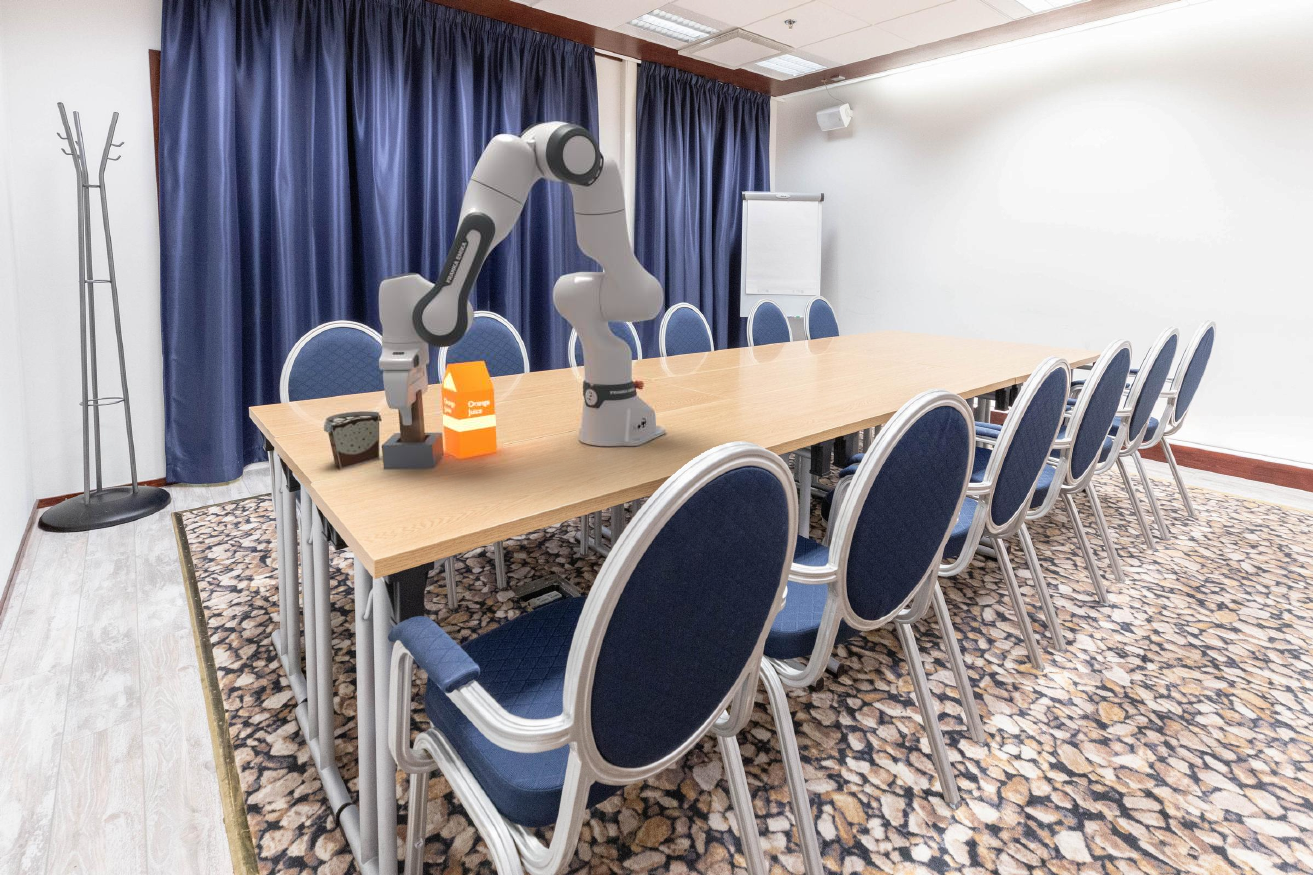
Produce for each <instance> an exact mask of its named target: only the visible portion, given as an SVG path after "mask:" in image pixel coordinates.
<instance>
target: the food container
mask: <svg viewBox="0 0 1313 875" xmlns="http://www.w3.org/2000/svg"><path fill="white" fill-rule="evenodd" d="M382 421H383V420H382V417H381V414H380V412H378V411H370V410H369V411H368V410H367V411H350V412H349V411H348V412H343V413H336V414H333V415H330V416H328V417H326V418H325V422H324V426H323V431H324V432H325V433H327V434H328V437H329V439H328V440H329V442H330V447H331V448H330V449H331V452H332V457H333V461H334V465H335V468H336V469H338V470H344V469H347V468H352V467H354V466H355V467H356V466H358V465H362V464H365V463H368V462H372V461H375V460H379V459H380V422H382Z"/></svg>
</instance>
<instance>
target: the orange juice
mask: <svg viewBox="0 0 1313 875" xmlns="http://www.w3.org/2000/svg"><path fill="white" fill-rule="evenodd" d="M441 384H442V385H441V388H440V390H441V402H442V403H441V406H442V422H443V424H442V425H443V433H444V434H443V437H444V445H445V446H444V447H445V448H444V449H445V452H447V453H448V454H451V455H453V456H454V457H457V458H458V459H465V458H470V457H471V458H472V457H477V456H481V455H482V456H483V455H487V454H491V453H497V452H498V449H497V448H498V446H497V428H496V426H497V422H496V406H495V387H494V385H493V382H492V380H491V377H490V374H489V371H488V369H487V366H486V362H485V360H479V361H468V362H458V363H448V364H446V369H445V372H444V377H443V379H442V383H441Z"/></svg>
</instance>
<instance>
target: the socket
mask: <svg viewBox="0 0 1313 875" xmlns="http://www.w3.org/2000/svg"><path fill="white" fill-rule="evenodd" d="M443 438H444V436H443V432H425V442H401V436H400V432H394V433H393V434H392V435H391V436H390V437H389V438H388V439H387V440H386V441H384V442H383V443H382V444H381V454H382V463H383V469H384V470H395V469H399V470H402V469H405V470H407V469H435V467H436V466H437V465H438V464H439V462H440V460H441V459H442V457H443V456H444V454H445V453H444V452H445V451H444V441H443Z"/></svg>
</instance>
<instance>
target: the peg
mask: <svg viewBox="0 0 1313 875" xmlns="http://www.w3.org/2000/svg"><path fill="white" fill-rule="evenodd" d="M423 404H424V402H423V395H422V390H419V391H418V392H417V393H416V401H415V402H414V403H412V404H411V407H412V408H411V413H412V415H413V423H412V424H411V425H403V422H402V416H401V413H400V410H399V409H397V410H398V420H399V422H398V424H399V433H400V436H401V442H425V433H426V432H425V430H426V429H425V418H424V405H423Z"/></svg>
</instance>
